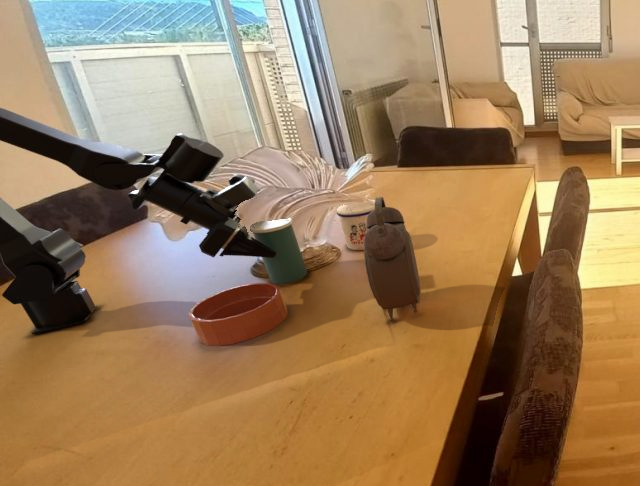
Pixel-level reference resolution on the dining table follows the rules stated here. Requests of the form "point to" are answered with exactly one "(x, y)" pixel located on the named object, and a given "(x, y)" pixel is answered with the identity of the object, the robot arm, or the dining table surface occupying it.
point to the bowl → (238, 314)
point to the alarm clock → (390, 259)
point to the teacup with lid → (355, 223)
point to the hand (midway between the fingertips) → (280, 246)
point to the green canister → (280, 250)
